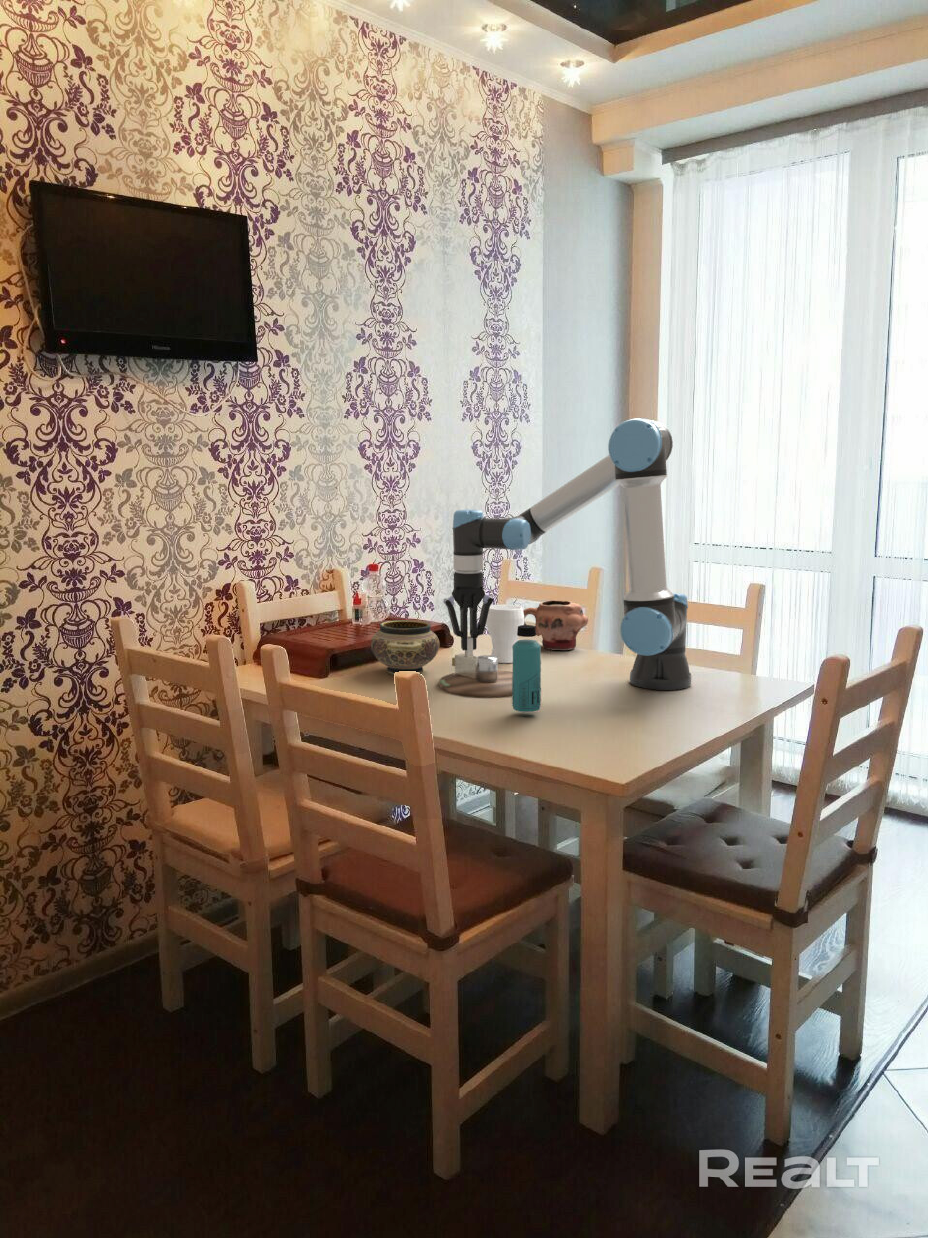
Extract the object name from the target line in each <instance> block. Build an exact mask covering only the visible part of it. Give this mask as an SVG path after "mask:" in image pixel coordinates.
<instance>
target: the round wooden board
mask: <svg viewBox="0 0 928 1238" xmlns="http://www.w3.org/2000/svg"><path fill="white" fill-rule="evenodd" d="M512 673H513V671H512V670H511V671H510V670H501V669H498V679H497V681H496V682H490V683H485V682H479V681H478V680H477V679H474V678H470V677H466V676H462V675H458V674H455V672H452V673H449V674H446V675H443V676H442V677H441V678H440V679H439V682H438V684H439V688H440V689H441V690H443V691H444V692H448V693H450V694H453V695H459V696H463V697H474V698H502V697H503V698H505V697H512V675H513V674H512Z"/></svg>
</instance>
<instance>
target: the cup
mask: <svg viewBox="0 0 928 1238" xmlns="http://www.w3.org/2000/svg"><path fill="white" fill-rule="evenodd" d="M523 610H524V609H523V607H522V606H521V605H516V604H506V603H505V604H493V605H492V604H491V606H490V608H489V612H488V616H487V621H486V625H485V627H486V629H487V631H488V633H489V636H490V638H491V644H492V648H491V654H490V655H492V656H497V657H498V664H511V663H512V664H513V648H512V646H513V645H514V644H515V643H516V642H517V641H518V640H519V638H520V636H518V635H517V631H518V626H521V625H524V620H525V619H524V613H523Z"/></svg>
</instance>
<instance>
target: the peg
mask: <svg viewBox="0 0 928 1238" xmlns="http://www.w3.org/2000/svg"><path fill="white" fill-rule="evenodd" d="M498 665H499V663H498V657H497V656H492V655H491V654H490V655H489V654H488V655H487V654H484V655H479V656H477V655H476V656H475V655H473V656H471V655H467V654H465V653H457V654H454V656H453V657H452V658H451V666H454V673H455V674H458V675H462V676H466V677H470V678H474V679H477V680H478V681H479V682H485V683H490V682H496V681H497V679H498V670H499V669H498Z"/></svg>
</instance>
